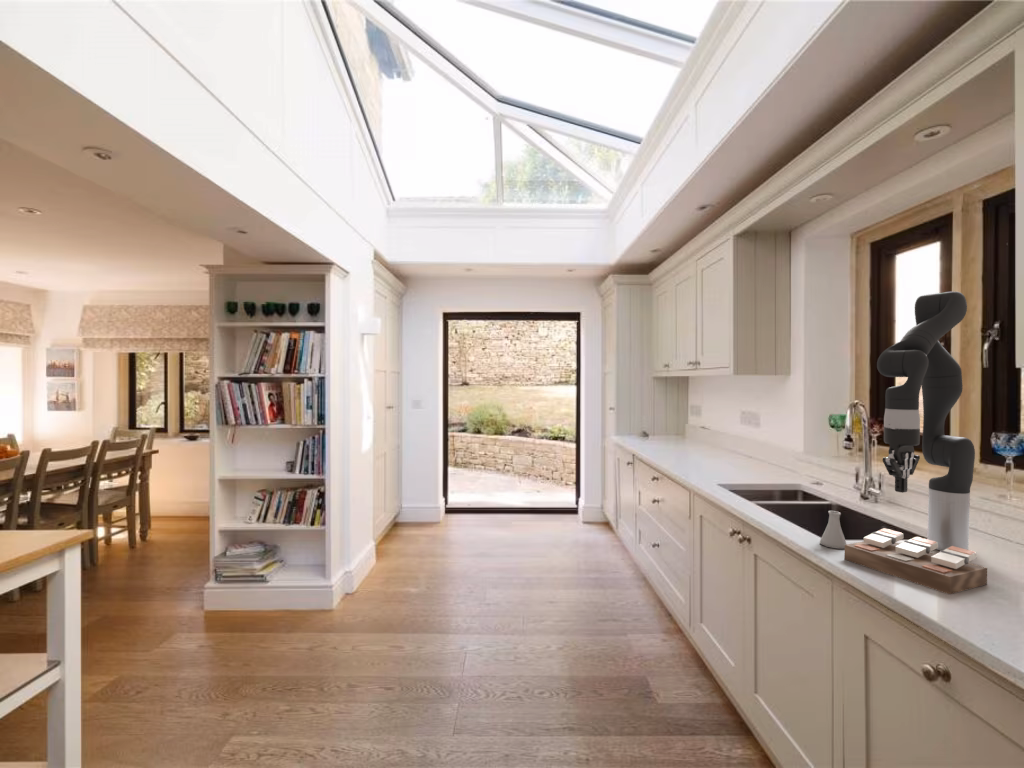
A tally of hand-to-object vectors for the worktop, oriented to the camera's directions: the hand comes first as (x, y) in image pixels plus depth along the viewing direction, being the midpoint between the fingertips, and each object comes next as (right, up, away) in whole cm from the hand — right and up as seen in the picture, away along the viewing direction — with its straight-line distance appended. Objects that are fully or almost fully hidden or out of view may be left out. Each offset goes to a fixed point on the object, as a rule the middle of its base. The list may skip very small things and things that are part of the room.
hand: (901, 491), depth 133 cm
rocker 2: (+2, -14, -2) cm, 14 cm away
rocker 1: (-1, -14, +5) cm, 15 cm away
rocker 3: (+5, -14, -10) cm, 18 cm away
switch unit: (0, -20, -3) cm, 20 cm away
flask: (-7, -20, +17) cm, 27 cm away
